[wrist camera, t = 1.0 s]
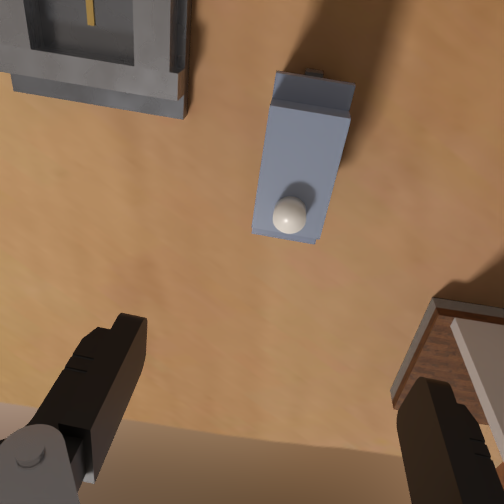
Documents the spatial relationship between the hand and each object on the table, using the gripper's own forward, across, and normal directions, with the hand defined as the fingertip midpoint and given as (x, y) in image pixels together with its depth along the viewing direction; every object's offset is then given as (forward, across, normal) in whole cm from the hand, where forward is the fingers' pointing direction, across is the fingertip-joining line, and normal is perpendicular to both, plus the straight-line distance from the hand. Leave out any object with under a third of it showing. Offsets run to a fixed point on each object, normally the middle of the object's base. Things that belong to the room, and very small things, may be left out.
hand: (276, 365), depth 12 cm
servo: (+18, 0, -1) cm, 19 cm away
